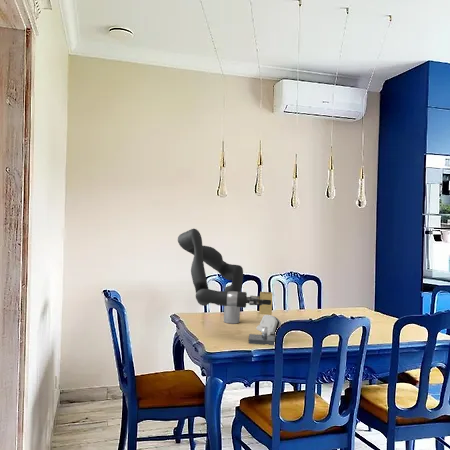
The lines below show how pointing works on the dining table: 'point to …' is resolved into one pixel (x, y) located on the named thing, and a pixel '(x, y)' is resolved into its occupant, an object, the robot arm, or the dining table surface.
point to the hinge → (269, 324)
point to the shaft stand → (262, 338)
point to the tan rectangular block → (266, 308)
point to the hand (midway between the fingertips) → (270, 301)
